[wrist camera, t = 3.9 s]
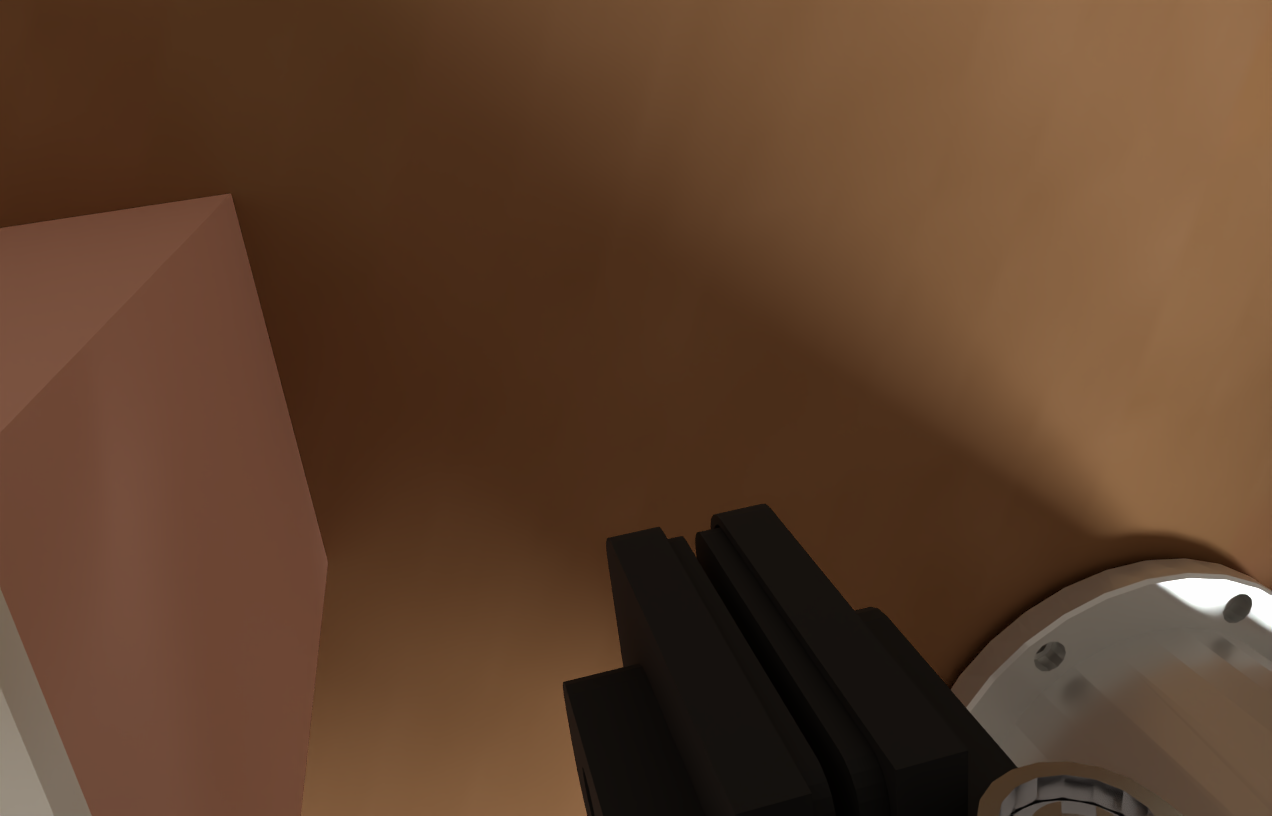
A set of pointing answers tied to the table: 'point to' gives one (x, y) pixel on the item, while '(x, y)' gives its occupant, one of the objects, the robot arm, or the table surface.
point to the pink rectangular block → (149, 525)
